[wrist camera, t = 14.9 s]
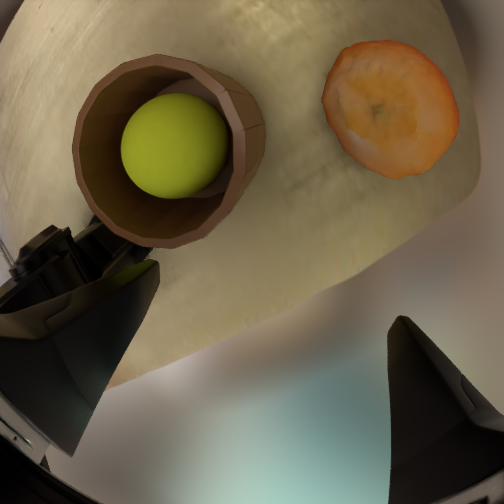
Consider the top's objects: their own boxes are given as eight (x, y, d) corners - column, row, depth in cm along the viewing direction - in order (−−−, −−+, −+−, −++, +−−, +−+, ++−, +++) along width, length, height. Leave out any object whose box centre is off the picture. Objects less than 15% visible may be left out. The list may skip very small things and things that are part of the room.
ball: (174, 235, 17) (139, 187, 11) (126, 174, 19) (87, 119, 12) (250, 174, 19) (252, 107, 12) (194, 123, 20) (179, 59, 13)
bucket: (201, 227, 22) (162, 279, 16) (116, 145, 20) (52, 168, 13) (296, 137, 18) (295, 153, 11) (193, 46, 15) (139, 21, 9)
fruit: (464, 153, 14) (470, 191, 9) (369, 157, 20) (330, 193, 15) (437, 44, 11) (430, 19, 6) (340, 61, 16) (286, 57, 12)
